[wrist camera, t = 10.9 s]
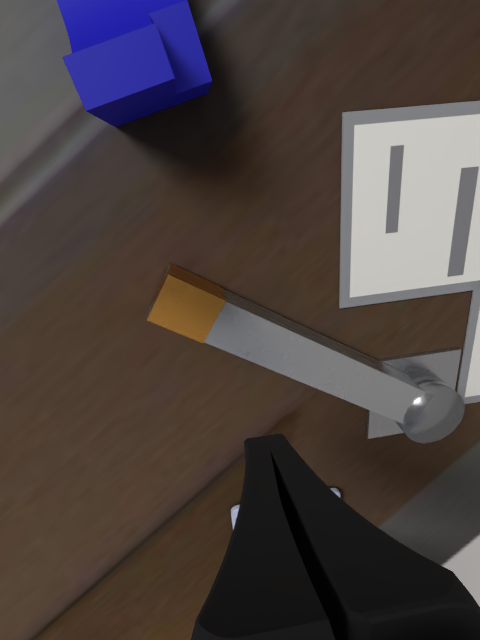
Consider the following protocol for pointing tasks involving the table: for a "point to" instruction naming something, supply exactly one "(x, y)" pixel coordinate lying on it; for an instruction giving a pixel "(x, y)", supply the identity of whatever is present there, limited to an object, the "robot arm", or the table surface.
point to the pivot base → (434, 361)
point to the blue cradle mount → (133, 56)
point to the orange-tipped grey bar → (305, 355)
